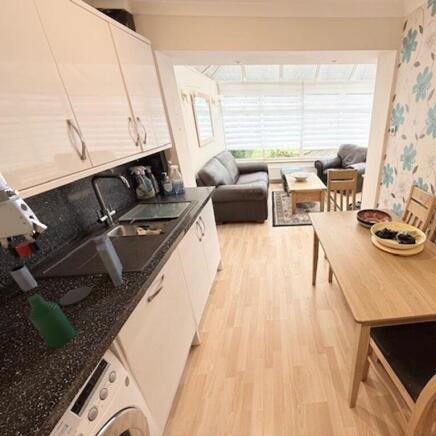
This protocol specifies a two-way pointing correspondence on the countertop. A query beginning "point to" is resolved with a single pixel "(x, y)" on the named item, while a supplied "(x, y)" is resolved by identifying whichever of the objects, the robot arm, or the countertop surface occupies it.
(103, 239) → the grey flat block
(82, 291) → the coaster
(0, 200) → the robot arm
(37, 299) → the bottle
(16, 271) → the grey cylinder
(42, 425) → the countertop surface
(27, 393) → the countertop surface
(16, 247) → the cap
